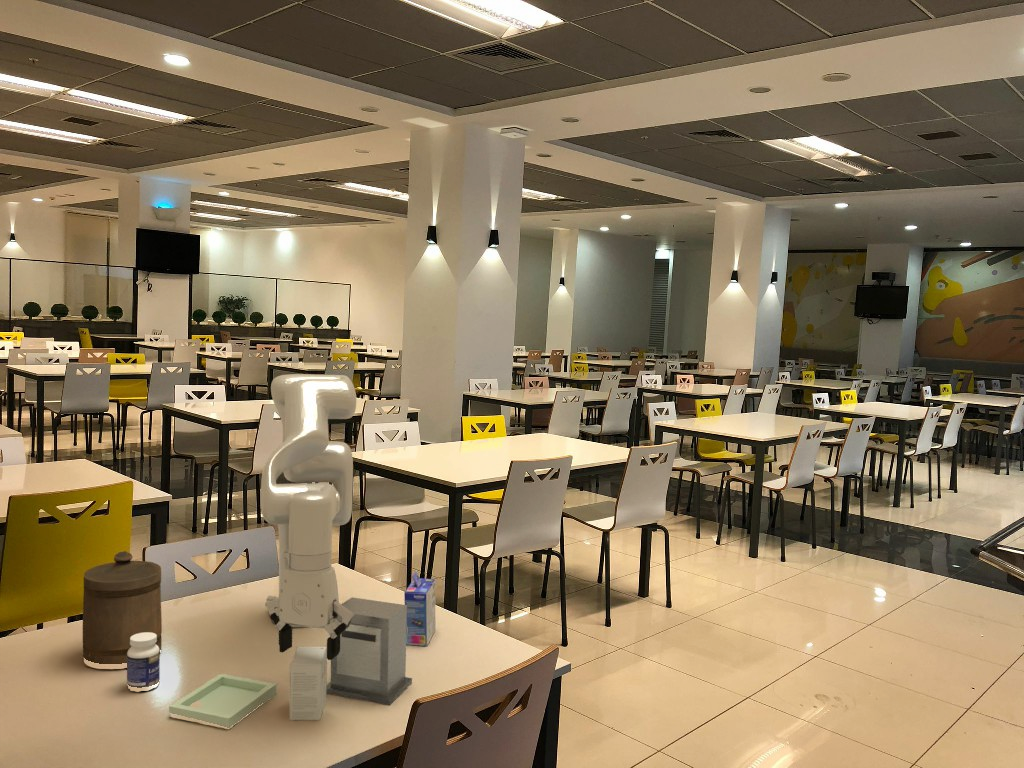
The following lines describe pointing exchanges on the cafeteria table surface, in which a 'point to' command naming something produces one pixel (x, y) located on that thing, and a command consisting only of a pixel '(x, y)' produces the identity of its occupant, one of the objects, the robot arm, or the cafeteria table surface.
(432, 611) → the ink cartridge box
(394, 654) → the dispenser unit
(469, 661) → the cafeteria table surface
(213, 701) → the tray
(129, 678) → the pill bottle
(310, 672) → the small box
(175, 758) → the cafeteria table surface
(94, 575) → the wooden container
